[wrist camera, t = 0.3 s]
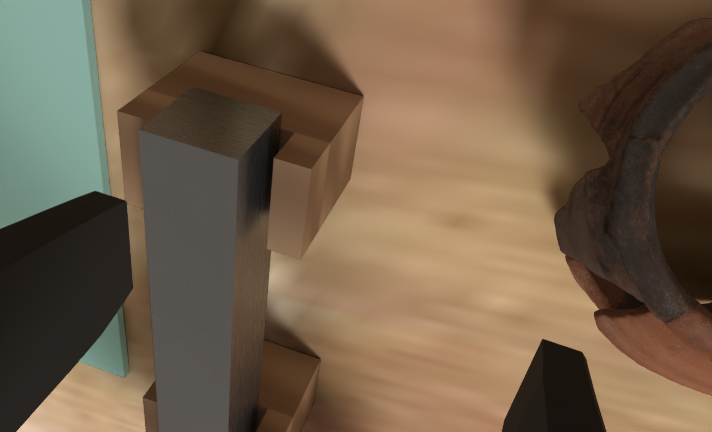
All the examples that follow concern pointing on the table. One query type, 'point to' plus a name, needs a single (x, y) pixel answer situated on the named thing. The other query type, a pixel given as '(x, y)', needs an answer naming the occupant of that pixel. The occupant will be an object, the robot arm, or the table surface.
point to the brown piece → (640, 212)
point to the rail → (208, 256)
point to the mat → (53, 126)
